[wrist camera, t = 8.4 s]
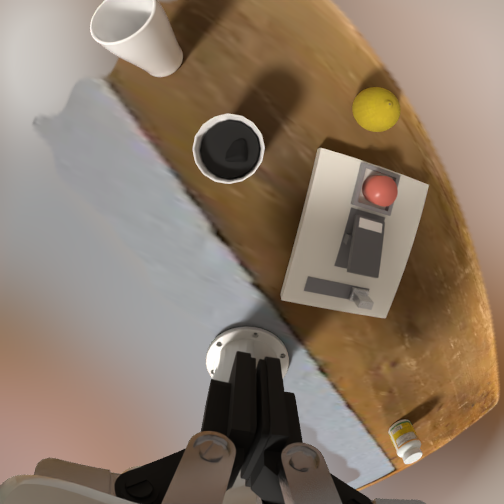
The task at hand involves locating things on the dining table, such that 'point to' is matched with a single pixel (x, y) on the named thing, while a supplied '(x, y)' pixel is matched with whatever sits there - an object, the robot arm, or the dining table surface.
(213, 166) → the white cup
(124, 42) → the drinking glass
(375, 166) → the switch panel
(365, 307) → the slide paddle
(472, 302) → the dining table surface
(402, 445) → the supplement bottle
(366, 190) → the push button
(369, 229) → the rocker switch
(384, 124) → the lemon
